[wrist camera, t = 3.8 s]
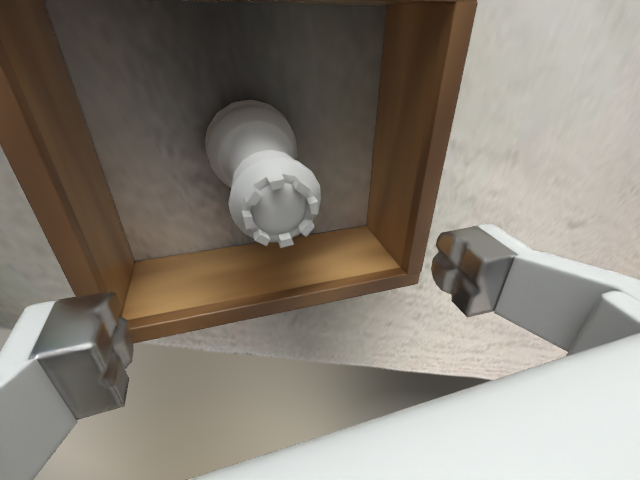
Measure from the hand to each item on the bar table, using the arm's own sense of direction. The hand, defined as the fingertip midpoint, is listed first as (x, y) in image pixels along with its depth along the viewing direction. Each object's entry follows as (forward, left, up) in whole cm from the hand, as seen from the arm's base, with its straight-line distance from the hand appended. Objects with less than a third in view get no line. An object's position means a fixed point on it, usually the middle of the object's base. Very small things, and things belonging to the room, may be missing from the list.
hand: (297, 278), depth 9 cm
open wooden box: (0, 0, -11) cm, 11 cm away
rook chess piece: (0, 0, -11) cm, 11 cm away
